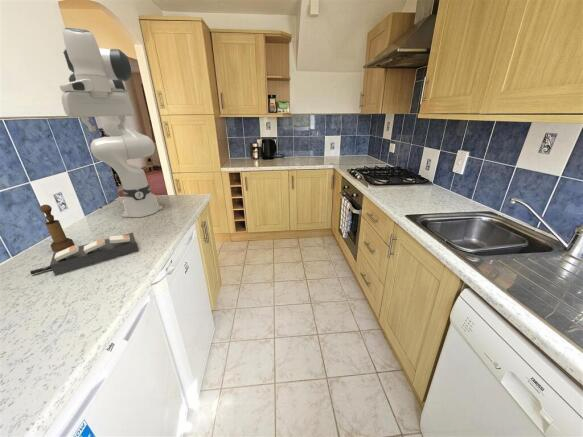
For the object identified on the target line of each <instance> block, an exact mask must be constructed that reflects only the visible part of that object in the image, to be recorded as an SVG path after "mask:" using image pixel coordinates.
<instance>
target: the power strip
mask: <svg viewBox="0 0 583 437" xmlns="http://www.w3.org/2000/svg"><path fill="white" fill-rule="evenodd" d="M125 235H129V237H130V242H120V243H110V240H109V238H105V239H104V240H105V245H103V246H101V247H99V248H97V249H94V250H92V251H90V252H88V253H85V252H84V246H85V245H88V244H89V243H87V244H83V245H78V247H79V249H78V252H76V253H74V254H72V255H69V256H67V257H65V258H63V259H60V260H58V261H56V260H55V259H54V258H55V254H56V253H58V252H60V251H58V252H54V251H53V253H52V254H53V255H52V257H51V261H50V264H49V265H48V266H45V267H40V268H37V269H33V270H30V271H29V272H30V273H29V274H31V275H35V274H39V273H42V272H46V271H49V270H52V273H53V274H54V276H58V275H61V274H64V273H65V274H66V273H69V272H72V271H76V270H79V269H83V268H86V267H89V266H93V265H97V264H99V263H102V262H103V263H104V262H107V261H111V260H112V259H117V258H120V257H121V258H122V257H124V256H127V255H131V254H134V253H138V252H139V248H138V244H137V242H136V238H135V235H134V233H133V232H129V233H127V234H125Z"/></svg>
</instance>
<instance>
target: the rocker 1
mask: <svg viewBox="0 0 583 437" xmlns="http://www.w3.org/2000/svg"><path fill="white" fill-rule="evenodd" d="M78 246H79V245H78V244H74V246H71V247H69V248H67V249H65V250H62V251H60V252H58V253H56V254H55V258H54V259H55V260H56V261H58V260H60V259H63V258H65V257H67V256H69V255H72V254H74V253H76V252H78V249H79V247H78Z"/></svg>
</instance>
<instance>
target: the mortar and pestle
mask: <svg viewBox="0 0 583 437" xmlns="http://www.w3.org/2000/svg"><path fill="white" fill-rule="evenodd" d="M39 210H40V212H42V213H43V214H45V219H46V220H47V221H48V222H45V223H44V224H45V227H46V229H47V230H48V232H49V233H48V234H49V235H50V238H52V242H51V244H50V248H51V250H52V252H53V253H54V252H58V251H62V250H65V249H67V248H69V247H71V246H74V245H75V242H74V241H73V239H72V238H68V237H67V236H66V233H65V230H64V228H63V227H62V225H61V223H60V220H59V219H55V216H54V215H53V214H52V206H51V205H49V204H42V205H41V206H40V207H39Z"/></svg>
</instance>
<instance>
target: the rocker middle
mask: <svg viewBox="0 0 583 437" xmlns="http://www.w3.org/2000/svg"><path fill="white" fill-rule="evenodd" d="M105 240H106V239H105V238H104V237H102V238H99V239H97V240H95V241H92V242H90V243H87V244H88V245H86V244H84V245H85V246H84V252H85V253H88V252H90V251H92V250H94V249H97V248H99V247H101V246H103V245H105Z"/></svg>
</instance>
